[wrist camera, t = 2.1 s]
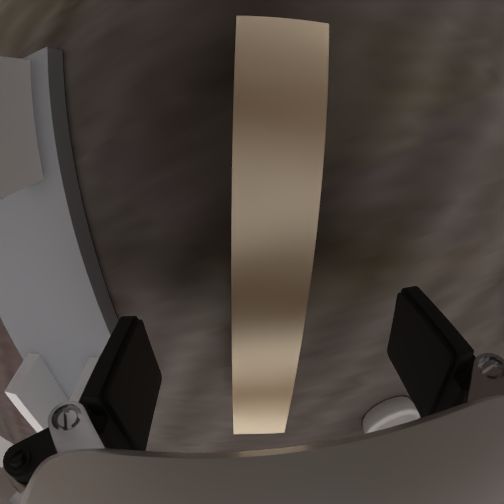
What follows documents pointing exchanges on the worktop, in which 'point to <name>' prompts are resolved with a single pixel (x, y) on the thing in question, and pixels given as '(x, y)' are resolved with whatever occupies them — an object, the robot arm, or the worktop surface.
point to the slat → (274, 208)
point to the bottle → (390, 414)
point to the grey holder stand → (45, 243)
